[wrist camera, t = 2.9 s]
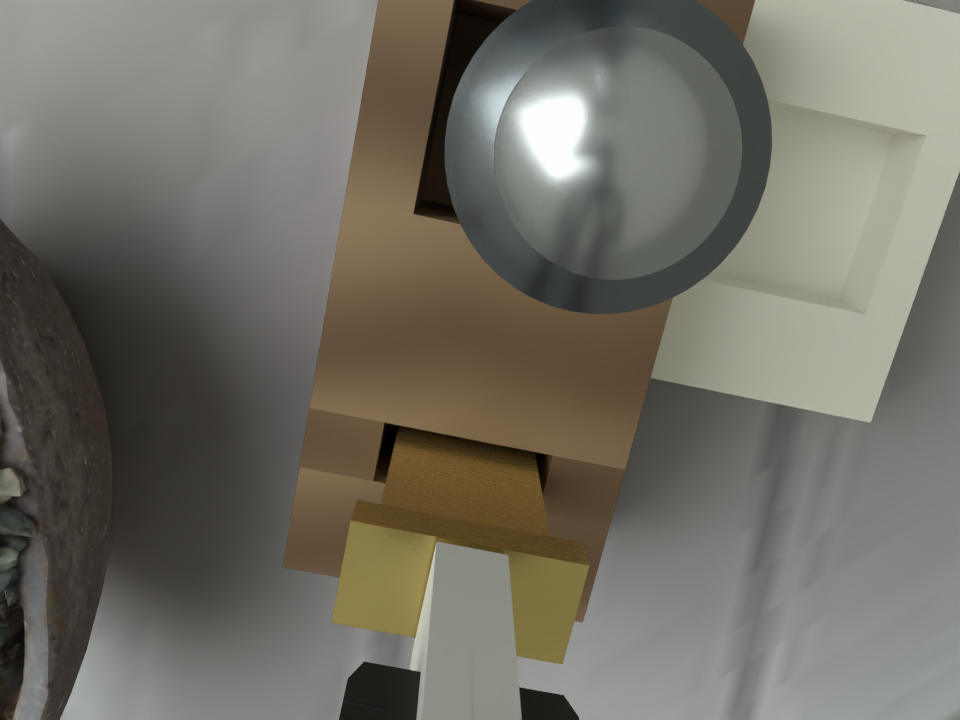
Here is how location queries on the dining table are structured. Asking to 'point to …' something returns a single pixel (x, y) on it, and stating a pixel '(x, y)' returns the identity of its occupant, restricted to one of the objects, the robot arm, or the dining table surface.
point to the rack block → (830, 208)
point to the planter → (47, 490)
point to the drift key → (460, 540)
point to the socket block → (455, 316)
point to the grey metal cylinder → (608, 150)
